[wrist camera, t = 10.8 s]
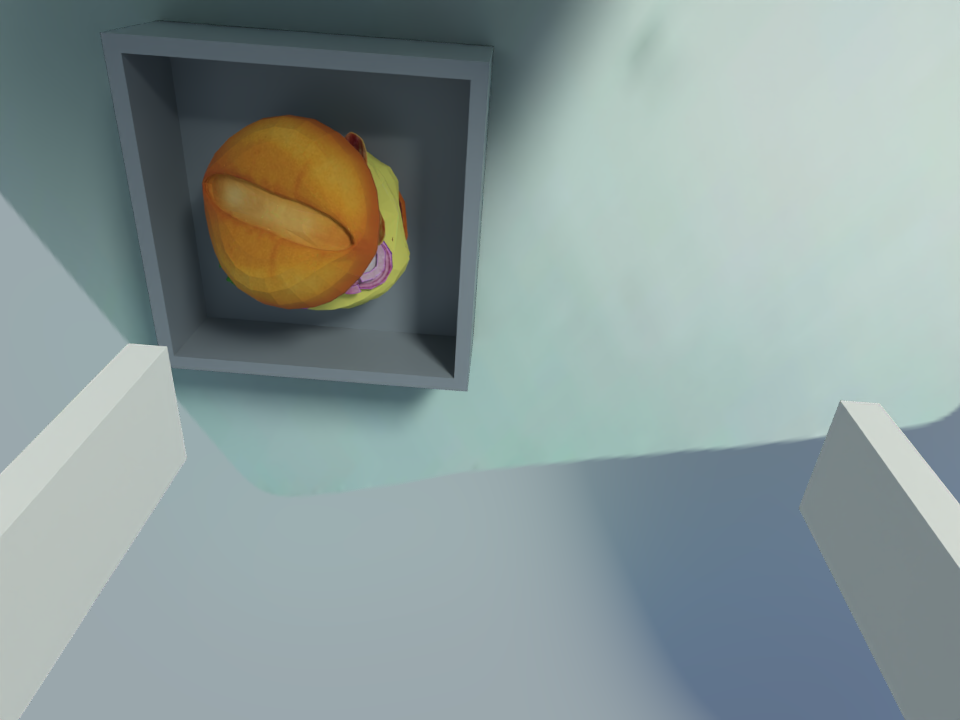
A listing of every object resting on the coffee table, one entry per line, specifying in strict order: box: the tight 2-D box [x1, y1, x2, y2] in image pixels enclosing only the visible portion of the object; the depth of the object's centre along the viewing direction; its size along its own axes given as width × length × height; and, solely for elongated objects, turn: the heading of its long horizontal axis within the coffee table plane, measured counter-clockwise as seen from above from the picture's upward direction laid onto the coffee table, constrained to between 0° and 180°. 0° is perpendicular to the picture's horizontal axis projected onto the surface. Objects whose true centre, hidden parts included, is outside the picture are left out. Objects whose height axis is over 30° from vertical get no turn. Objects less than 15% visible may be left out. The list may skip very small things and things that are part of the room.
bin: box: [100, 21, 493, 391], centre depth 39 cm, size 18×18×6 cm
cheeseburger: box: [202, 115, 410, 310], centre depth 37 cm, size 10×11×10 cm
